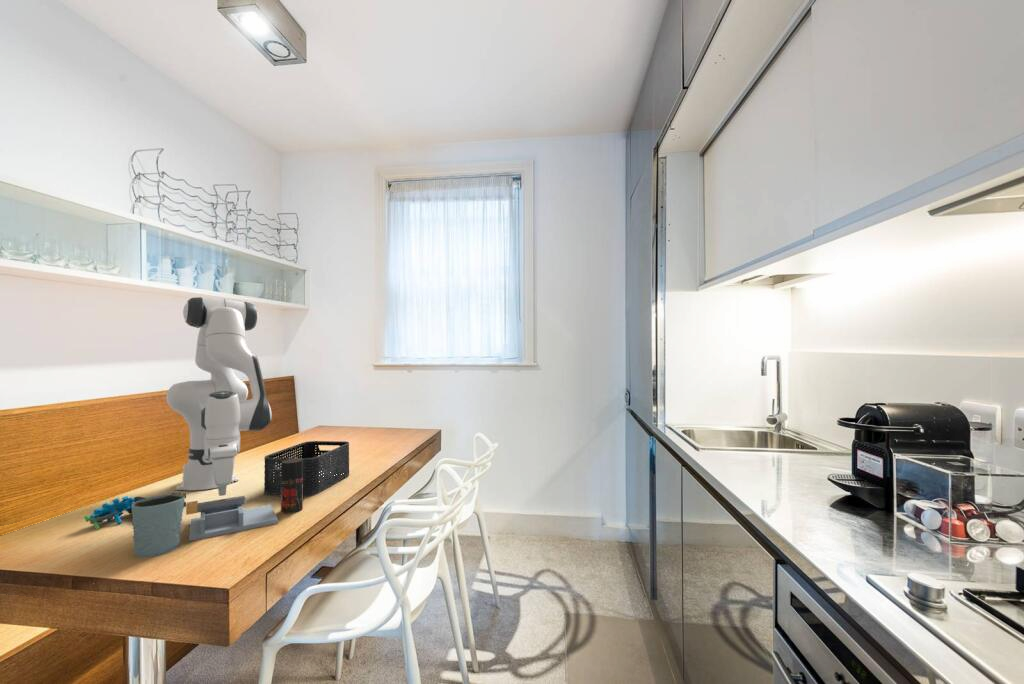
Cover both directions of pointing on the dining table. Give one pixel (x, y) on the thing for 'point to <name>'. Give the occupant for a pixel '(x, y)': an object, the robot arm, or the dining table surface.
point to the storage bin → (309, 466)
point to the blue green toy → (110, 511)
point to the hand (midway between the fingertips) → (222, 494)
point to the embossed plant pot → (157, 524)
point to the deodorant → (291, 486)
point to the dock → (230, 521)
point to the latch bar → (213, 504)
